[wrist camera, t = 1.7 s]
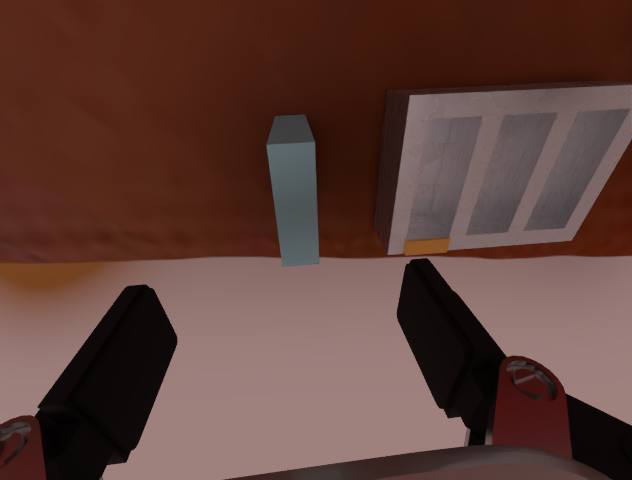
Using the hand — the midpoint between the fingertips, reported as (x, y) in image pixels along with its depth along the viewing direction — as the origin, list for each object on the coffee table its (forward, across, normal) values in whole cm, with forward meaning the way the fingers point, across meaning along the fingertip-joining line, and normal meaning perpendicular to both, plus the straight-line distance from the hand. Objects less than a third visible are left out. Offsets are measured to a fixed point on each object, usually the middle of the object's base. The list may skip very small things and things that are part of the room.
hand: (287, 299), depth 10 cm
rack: (+16, -18, +1) cm, 24 cm away
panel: (+17, -1, 0) cm, 17 cm away
